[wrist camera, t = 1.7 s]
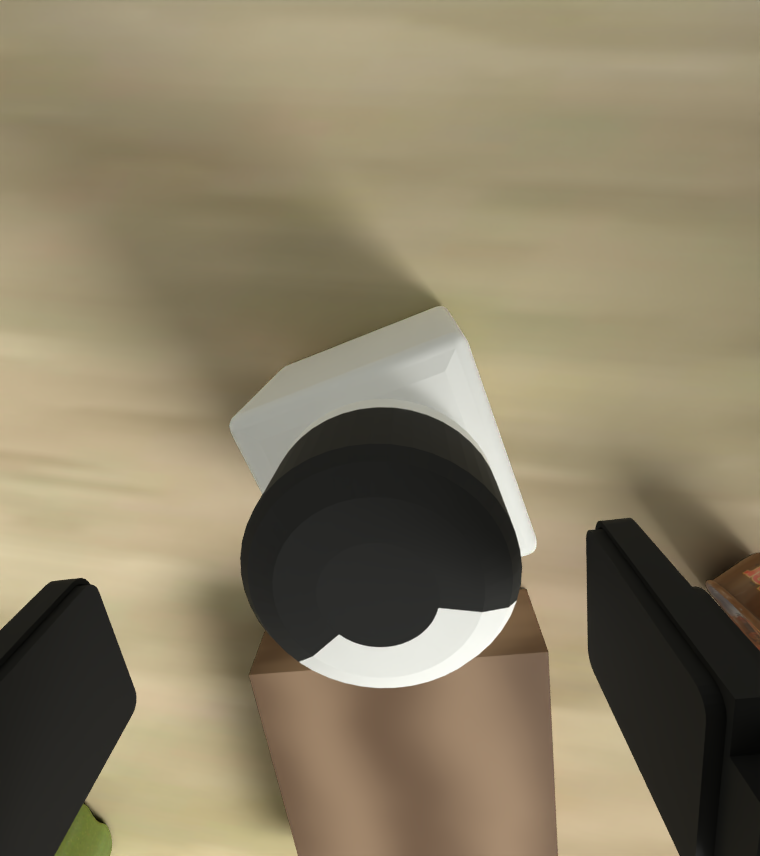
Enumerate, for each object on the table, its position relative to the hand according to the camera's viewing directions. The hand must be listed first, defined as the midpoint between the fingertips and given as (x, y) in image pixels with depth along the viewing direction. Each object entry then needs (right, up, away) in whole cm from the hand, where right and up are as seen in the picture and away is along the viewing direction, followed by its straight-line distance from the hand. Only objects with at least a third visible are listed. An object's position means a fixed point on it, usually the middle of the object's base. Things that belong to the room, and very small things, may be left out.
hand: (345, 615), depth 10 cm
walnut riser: (+3, -12, +17) cm, 21 cm away
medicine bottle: (+1, +4, +12) cm, 13 cm away
